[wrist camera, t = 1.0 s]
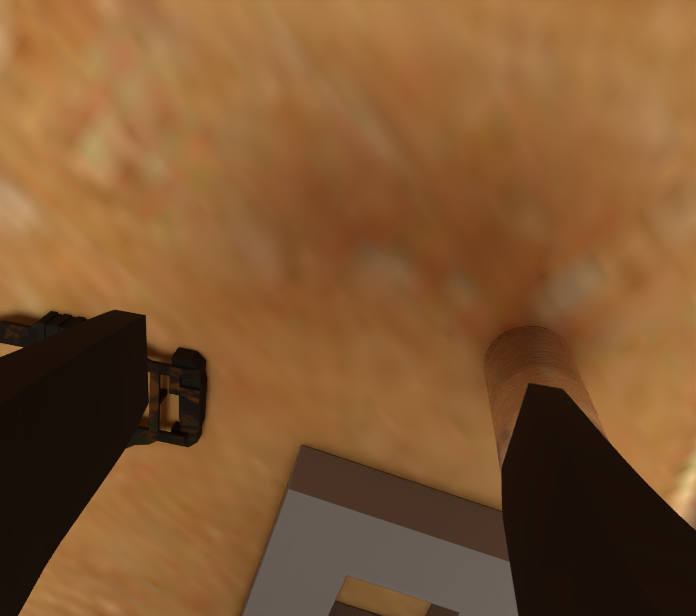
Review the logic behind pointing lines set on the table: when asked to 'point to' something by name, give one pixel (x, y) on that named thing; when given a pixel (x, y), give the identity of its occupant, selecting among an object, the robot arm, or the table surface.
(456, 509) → the socket block
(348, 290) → the table surface
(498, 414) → the steel pin
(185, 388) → the knife
